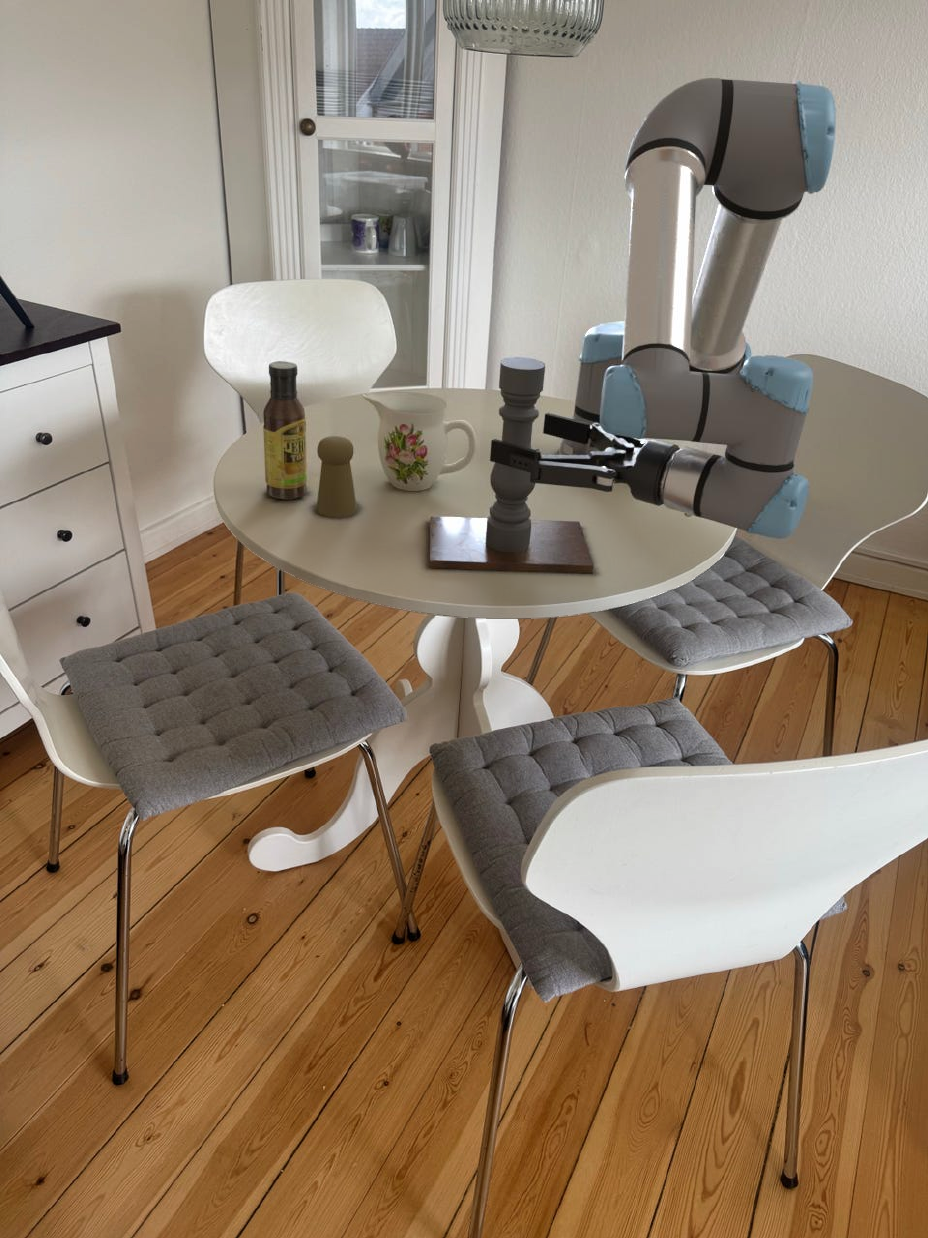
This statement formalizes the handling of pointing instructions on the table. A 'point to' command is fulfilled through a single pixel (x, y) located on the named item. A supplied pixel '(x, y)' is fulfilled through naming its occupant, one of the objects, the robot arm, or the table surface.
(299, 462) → the sauce bottle
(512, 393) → the candle holder
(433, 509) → the table surface
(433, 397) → the pitcher
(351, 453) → the olive pepper mill
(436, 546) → the walnut board
